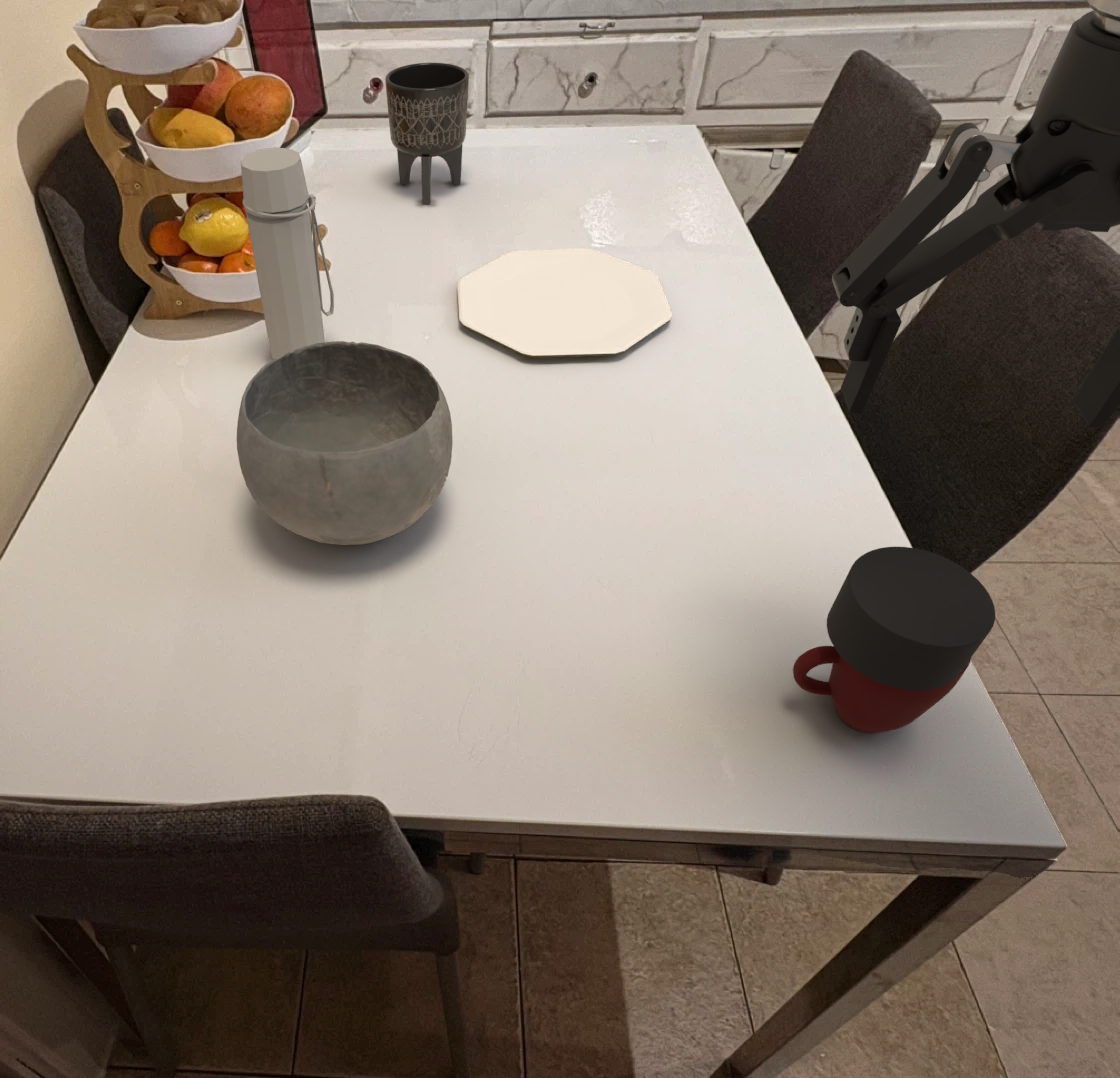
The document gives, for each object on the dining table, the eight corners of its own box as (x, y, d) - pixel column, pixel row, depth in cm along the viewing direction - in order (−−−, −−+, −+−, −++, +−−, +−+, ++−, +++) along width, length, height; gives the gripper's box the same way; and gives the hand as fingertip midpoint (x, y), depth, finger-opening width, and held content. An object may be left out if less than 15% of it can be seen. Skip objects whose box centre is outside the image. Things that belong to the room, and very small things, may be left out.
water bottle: (285, 382, 104) (250, 179, 86) (261, 352, 109) (224, 154, 91) (351, 360, 107) (331, 159, 89) (325, 332, 112) (302, 136, 94)
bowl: (458, 580, 80) (459, 458, 69) (243, 588, 80) (212, 469, 69) (446, 443, 94) (445, 325, 84) (264, 451, 95) (241, 335, 84)
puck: (978, 629, 61) (1011, 583, 57) (942, 713, 56) (975, 669, 53) (851, 574, 65) (874, 528, 61) (807, 648, 60) (829, 603, 57)
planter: (465, 206, 137) (467, 89, 124) (386, 206, 138) (380, 90, 126) (469, 174, 146) (470, 61, 133) (395, 174, 147) (390, 62, 135)
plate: (685, 361, 103) (687, 350, 102) (461, 366, 105) (461, 356, 104) (644, 255, 123) (646, 245, 122) (455, 261, 124) (455, 251, 123)
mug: (795, 757, 65) (837, 683, 58) (765, 672, 71) (800, 594, 64) (934, 756, 65) (993, 681, 58) (893, 670, 70) (942, 592, 63)
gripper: (1447, -6, 38) (1162, 383, 53) (859, -1, 42) (750, 361, 57) (1578, 46, 33) (1222, 460, 48) (895, 47, 36) (765, 431, 52)
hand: (966, 407), depth 52 cm, fingers open, 13 cm apart
